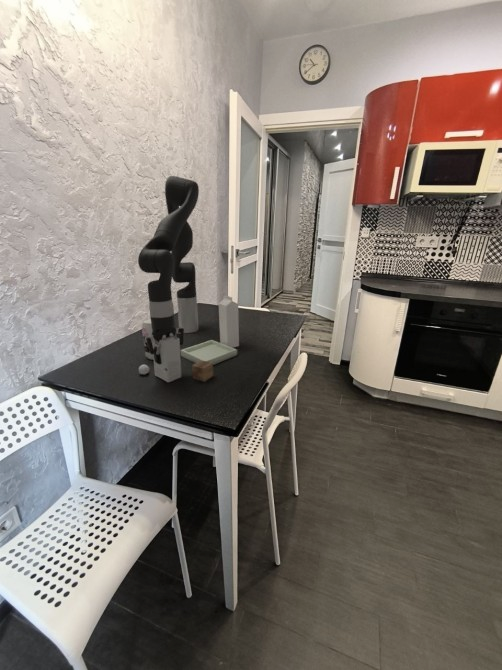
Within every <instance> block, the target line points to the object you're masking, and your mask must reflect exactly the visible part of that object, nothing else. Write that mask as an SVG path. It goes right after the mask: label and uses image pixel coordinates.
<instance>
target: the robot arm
mask: <svg viewBox="0 0 502 670" xmlns="http://www.w3.org/2000/svg"><path fill="white" fill-rule="evenodd" d="M199 192H200V190H199V185H198V183H197V182H196V181H194V180H192V179H187V178H183V177H179V176H176V175H170V176H168V177H167V178H166V181H165V186H164V193H165V194H164V195H165V196H164V197H165V203H166V209H167V215H166V216H165V217H163V218H162V219H161V221H160V222H159V223H158V225H157V228H156V229H155V232H154V234H153V237H151V239H149V240H148V242H147V243H146V244H145V245H144V246H143V247H142V249H141V250H140V252H139V254H138V257H137V258H138V259H137V263H138V267H139V269H140V270H141V271H142V272H144V273H147V274H159V277H158V279H156V280H151V281H149V282H148V284H147V293H148V302H149V303H148V304H149V308H148V309H149V315H150V317H149V319H150V318H151V326H152V330H153V331H152V335H150V336H144V340H143V343H144V342H145V345H146V349H147V352H148V353H150V354H152V355H153V354H154V360H155V362H156V363H157V364H161V356H160V354H159V353H160V348H161V342H159V340H164V339H165V338H167V337H170V338H172V337H174V336H176V337H177V338H179V340H180V346H183V345H184V340H185V339H184V336H185V335H184V334H189V333H197V332H198V331H199V330H200V328H199V312H198V299H197V298H198V297H197V288H196V287H197V285H196V284H197V283H196V266H195V263H193V262H192V261H191V262H190V261H189V262H182V261H183V259H184V258H186V256H187V255H188V254H189V253H190V251H191V250H192V248H193V242H194V241H193V240H194V237H193V236H194V234H193V229H192V227H191V225H190V223H189V222H188V220H189V218H190V216H191V214H192V213H193V211H194V209H195V208H196V206H197V203H198V200H199V194H200V193H199ZM172 281H173V282H174V283H176V284H177V283H178V284H179V283H180V284H181V283H183V284H184V283H188V284H187V285H186V286H184V287H183V288H181V289H178V290H177V291H176V298H177V299H176V300H177V301H176V302H177V309H178V310H177V318H178V319H177V320H178V326H177V327H176V320H175V319H176V318H175V309H174V308H175V306H174V302H173V297H172V296H173V295H172ZM153 338H154V339H155V340H156V341H158V342H159V345H158V344H156V342H154V348H153V345H152V342H153ZM154 360H153V361H154Z"/></svg>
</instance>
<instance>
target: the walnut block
mask: <svg viewBox="0 0 502 670" xmlns="http://www.w3.org/2000/svg"><path fill="white" fill-rule="evenodd" d="M213 366H214V365H213V363H211V362H207V361H203V360H200V361H199V362H197V363H195V362H194V364H192V365H191V370H192V379H194V380H197V381H201V382H206V381H208V380H210V379H211V378H212V377H214V367H213Z"/></svg>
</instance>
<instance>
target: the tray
mask: <svg viewBox="0 0 502 670" xmlns="http://www.w3.org/2000/svg"><path fill="white" fill-rule="evenodd" d="M236 356H238V349H236V348H235V347H233V348H232V347H229V346H227V345H224V344H221V343H220V341H219V342H218V341H215V340H213V339H210V340H207V341H205V342H201V343H199V344H195V345H191V346H189V347H185V348H183V349H180V357H182V358H185V359H187V360H188V361H191V362H193V363H194V364H195V363H197V362H199V361H200V360H203V361H207V362H211V363H213V366H214V365H216V364H218V363H221V362H224V361H226V360H229V359H232V358H233V357H236Z"/></svg>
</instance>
